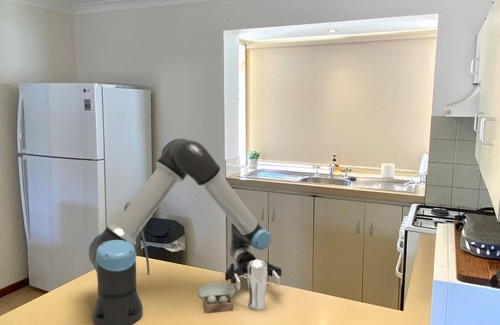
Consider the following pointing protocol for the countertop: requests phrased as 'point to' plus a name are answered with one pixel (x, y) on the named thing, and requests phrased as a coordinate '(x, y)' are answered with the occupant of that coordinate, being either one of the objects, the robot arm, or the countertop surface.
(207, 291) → the saucer
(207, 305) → the parts tray
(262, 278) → the beer glass
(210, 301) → the pebble
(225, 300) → the pebble
